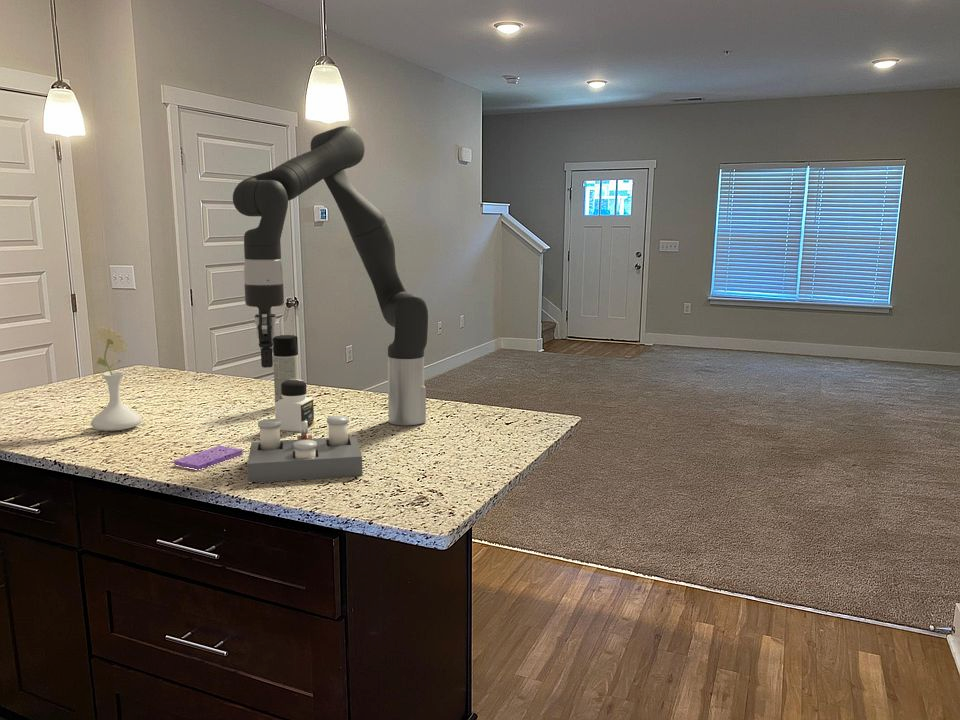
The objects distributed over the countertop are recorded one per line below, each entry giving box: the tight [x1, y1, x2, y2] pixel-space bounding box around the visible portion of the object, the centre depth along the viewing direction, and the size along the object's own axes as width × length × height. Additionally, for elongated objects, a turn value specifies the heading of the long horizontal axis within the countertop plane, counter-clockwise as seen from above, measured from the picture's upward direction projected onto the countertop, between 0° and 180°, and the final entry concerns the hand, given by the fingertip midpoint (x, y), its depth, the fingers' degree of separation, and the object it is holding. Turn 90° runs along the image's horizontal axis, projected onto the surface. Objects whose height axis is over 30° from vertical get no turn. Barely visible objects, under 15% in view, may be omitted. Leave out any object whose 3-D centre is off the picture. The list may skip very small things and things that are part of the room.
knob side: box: [293, 440, 317, 458], centre depth 147 cm, size 5×5×6 cm
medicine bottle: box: [274, 379, 315, 433], centre depth 180 cm, size 7×7×12 cm
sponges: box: [173, 445, 244, 470], centre depth 155 cm, size 7×13×2 cm, turn 154°
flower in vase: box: [90, 326, 143, 432], centre depth 177 cm, size 13×11×25 cm
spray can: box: [272, 334, 300, 403], centre depth 200 cm, size 7×7×20 cm
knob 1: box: [257, 418, 281, 450], centre depth 151 cm, size 5×5×6 cm
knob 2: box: [326, 415, 350, 446], centre depth 155 cm, size 5×5×6 cm
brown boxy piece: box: [296, 421, 313, 441], centre depth 153 cm, size 3×3×5 cm
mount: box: [246, 435, 363, 483], centre depth 150 cm, size 22×15×4 cm
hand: (267, 366), depth 149 cm, fingers closed
